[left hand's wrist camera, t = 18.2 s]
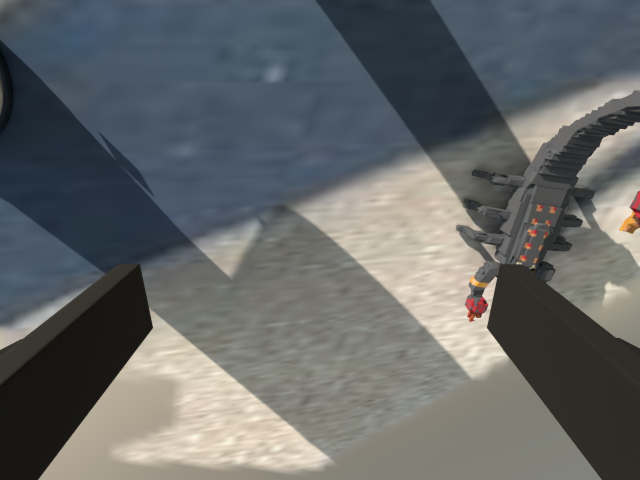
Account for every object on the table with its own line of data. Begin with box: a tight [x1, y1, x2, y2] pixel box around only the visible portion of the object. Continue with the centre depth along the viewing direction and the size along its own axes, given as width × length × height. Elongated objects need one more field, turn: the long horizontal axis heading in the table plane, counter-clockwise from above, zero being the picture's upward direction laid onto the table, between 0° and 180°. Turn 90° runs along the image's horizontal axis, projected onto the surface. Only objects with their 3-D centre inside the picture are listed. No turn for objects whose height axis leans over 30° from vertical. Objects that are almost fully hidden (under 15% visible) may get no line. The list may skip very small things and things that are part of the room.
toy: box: [456, 91, 640, 322], centre depth 33 cm, size 13×27×18 cm, turn 172°
